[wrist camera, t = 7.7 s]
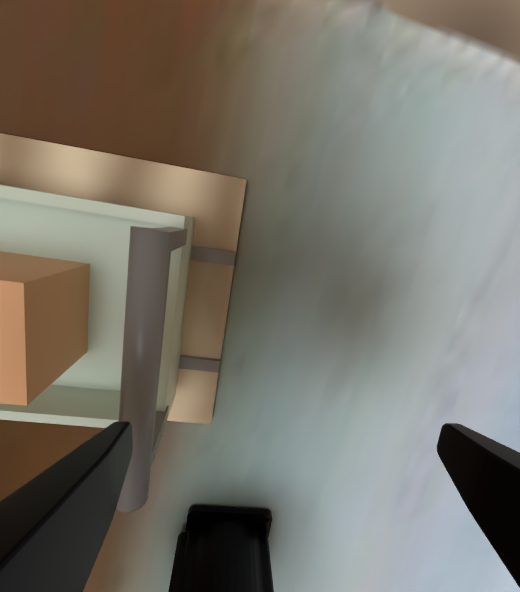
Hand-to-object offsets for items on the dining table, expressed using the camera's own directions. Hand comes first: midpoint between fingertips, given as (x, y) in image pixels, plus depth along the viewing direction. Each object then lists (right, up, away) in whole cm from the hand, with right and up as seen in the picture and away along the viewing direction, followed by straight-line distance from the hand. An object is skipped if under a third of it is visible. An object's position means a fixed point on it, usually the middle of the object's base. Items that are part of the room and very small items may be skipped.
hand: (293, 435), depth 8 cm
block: (-13, +4, +7) cm, 15 cm away
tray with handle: (-11, +4, +9) cm, 15 cm away
